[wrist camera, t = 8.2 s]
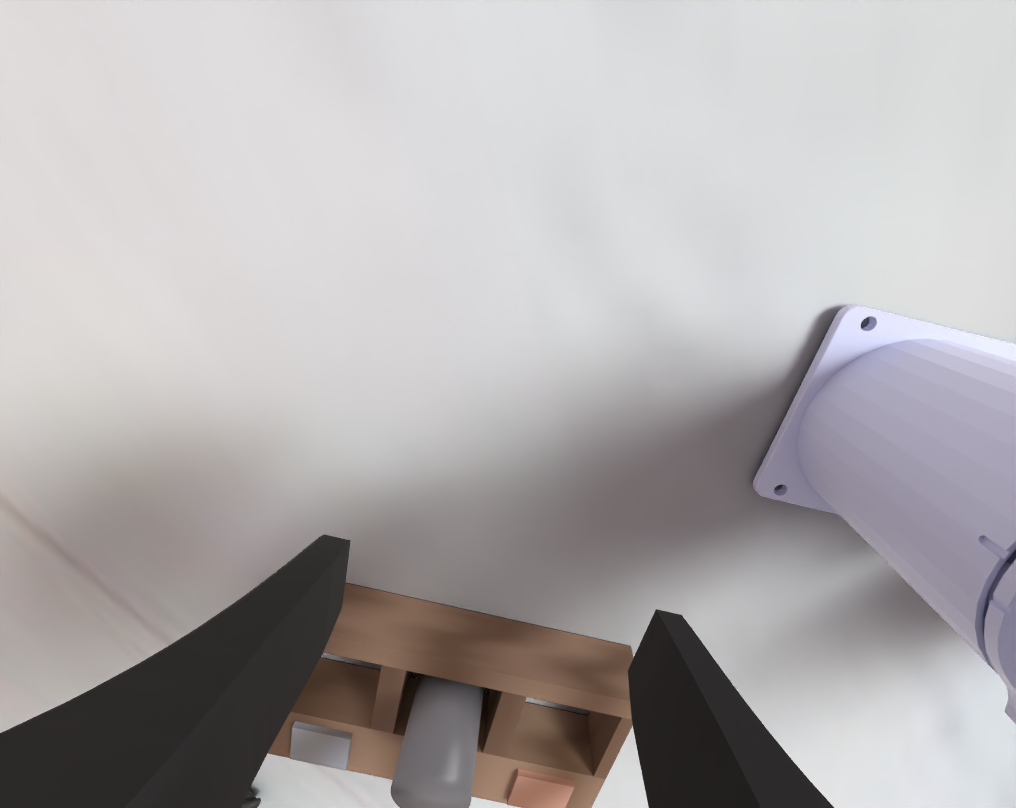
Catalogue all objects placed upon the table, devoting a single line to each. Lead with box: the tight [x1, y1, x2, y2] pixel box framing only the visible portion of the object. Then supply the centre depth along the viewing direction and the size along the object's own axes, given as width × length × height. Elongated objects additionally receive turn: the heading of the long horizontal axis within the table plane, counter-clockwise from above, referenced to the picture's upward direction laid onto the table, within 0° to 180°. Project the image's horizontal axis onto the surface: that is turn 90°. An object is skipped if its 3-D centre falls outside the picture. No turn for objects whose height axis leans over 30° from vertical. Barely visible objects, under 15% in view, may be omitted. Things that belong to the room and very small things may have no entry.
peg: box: [391, 674, 484, 808], centre depth 22 cm, size 3×3×6 cm
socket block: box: [268, 583, 633, 808], centre depth 24 cm, size 17×9×3 cm, turn 77°
